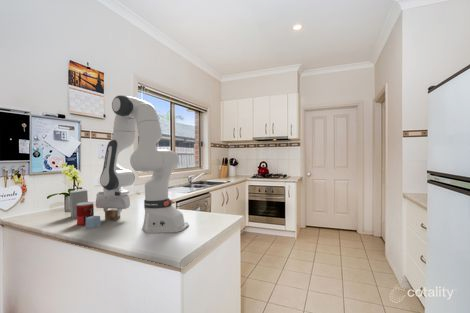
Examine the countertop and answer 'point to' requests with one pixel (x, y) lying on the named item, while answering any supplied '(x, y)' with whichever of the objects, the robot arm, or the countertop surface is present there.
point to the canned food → (84, 212)
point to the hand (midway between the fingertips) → (112, 215)
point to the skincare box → (77, 200)
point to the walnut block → (111, 214)
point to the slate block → (92, 221)
